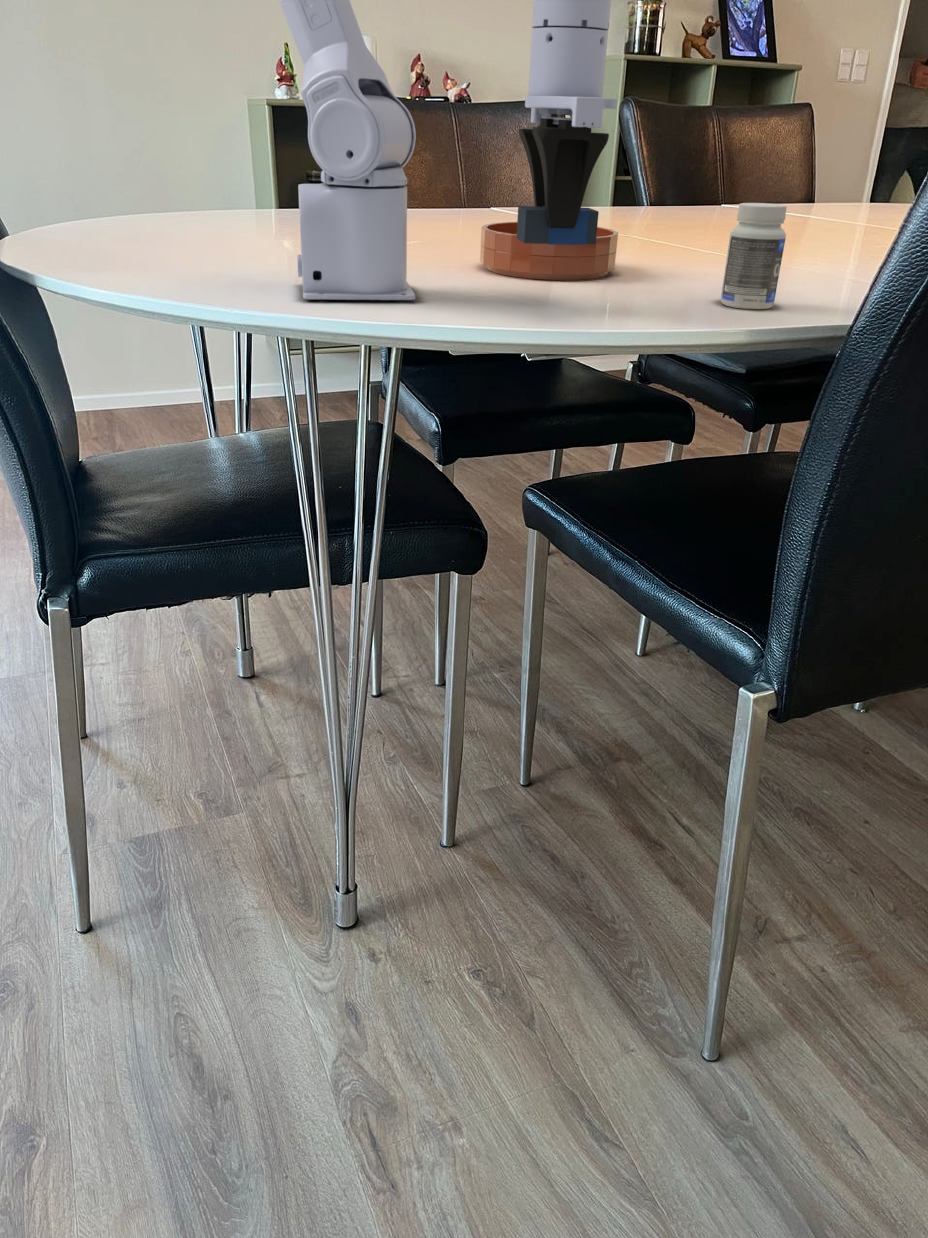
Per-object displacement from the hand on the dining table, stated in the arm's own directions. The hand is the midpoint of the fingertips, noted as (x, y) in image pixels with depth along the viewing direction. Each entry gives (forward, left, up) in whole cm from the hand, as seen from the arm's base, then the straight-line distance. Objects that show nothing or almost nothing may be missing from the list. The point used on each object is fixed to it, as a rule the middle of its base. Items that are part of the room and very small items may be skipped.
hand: (555, 225), depth 78 cm
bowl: (+5, +22, -7) cm, 23 cm away
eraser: (0, 0, -1) cm, 1 cm away
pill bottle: (+19, +3, -7) cm, 20 cm away
